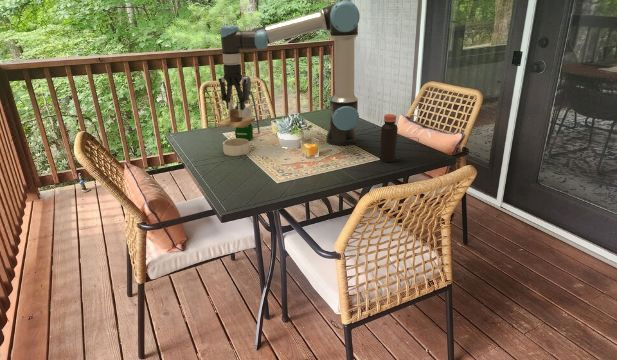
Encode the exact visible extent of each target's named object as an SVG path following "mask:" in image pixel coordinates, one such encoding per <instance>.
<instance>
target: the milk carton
mask: <svg viewBox="0 0 617 360" xmlns="http://www.w3.org/2000/svg"><path fill="white" fill-rule="evenodd" d="M245 102H246V101H245ZM245 102H244V109H243V110H242V112H243V116H242V117H244V118H253V116H252V115H253V113H252V103H250V104H249V103H245ZM238 103H239V101H237V102H236V104H234V105H233V109H238ZM253 126H254V125H253V122H252V123H250V124H249V125H247V126H246V127H244V128H241V127H233V128H234V136H235V138H242V139H247V140H248V141H249V142H250V141H251V140H252V139H253V138H254V129H253V128H254V127H253Z"/></svg>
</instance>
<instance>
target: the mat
mask: <svg viewBox="0 0 617 360" xmlns="http://www.w3.org/2000/svg"><path fill="white" fill-rule="evenodd" d="M281 146H282V145H270V144H269V145H267V144H259V145H258V146H257V147H256V148H254V150H252V151H251V152H249V153H248V156H257V157H270V158H281V156H282V155H283V154H285V153H286V151H287V150H288V149H285V148H282V147H281Z"/></svg>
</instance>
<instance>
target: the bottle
mask: <svg viewBox="0 0 617 360" xmlns="http://www.w3.org/2000/svg"><path fill="white" fill-rule="evenodd" d="M383 118H384V119H383V121H384V124H383V125H382V126H381V130H380V148H379V149H380V150H379V153H380V154H379V160H380V162H382V161H383V162H382V163H386V162H391V163H394V162H396V159H397V158H396V157H397V142H398V129H399V127H398V125H396V122H397V115H396V114H391V113H390V114H389V113H388V114H384V117H383ZM393 161H394V162H393Z"/></svg>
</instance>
